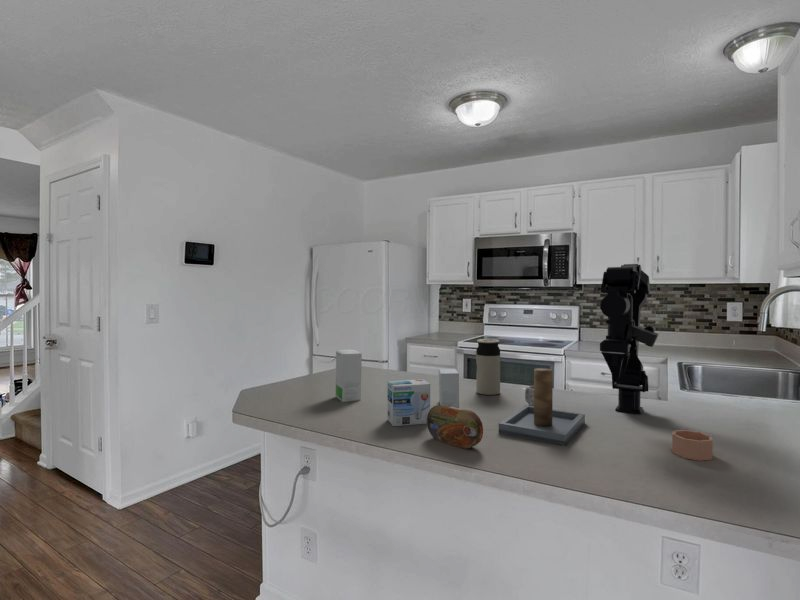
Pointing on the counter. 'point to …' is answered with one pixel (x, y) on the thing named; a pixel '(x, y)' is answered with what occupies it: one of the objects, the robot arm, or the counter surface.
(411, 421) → the light bulb box
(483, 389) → the travel mug
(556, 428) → the slate tray
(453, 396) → the small box
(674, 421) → the counter surface
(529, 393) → the mug
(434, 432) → the tin
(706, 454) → the terracotta cup
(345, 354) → the skincare box
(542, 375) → the walnut dowel
